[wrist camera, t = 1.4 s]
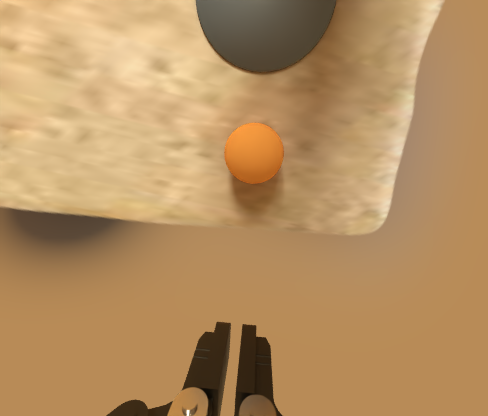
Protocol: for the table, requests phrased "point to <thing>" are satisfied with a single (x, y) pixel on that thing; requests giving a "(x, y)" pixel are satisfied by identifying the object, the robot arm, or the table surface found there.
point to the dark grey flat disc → (264, 30)
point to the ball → (254, 153)
